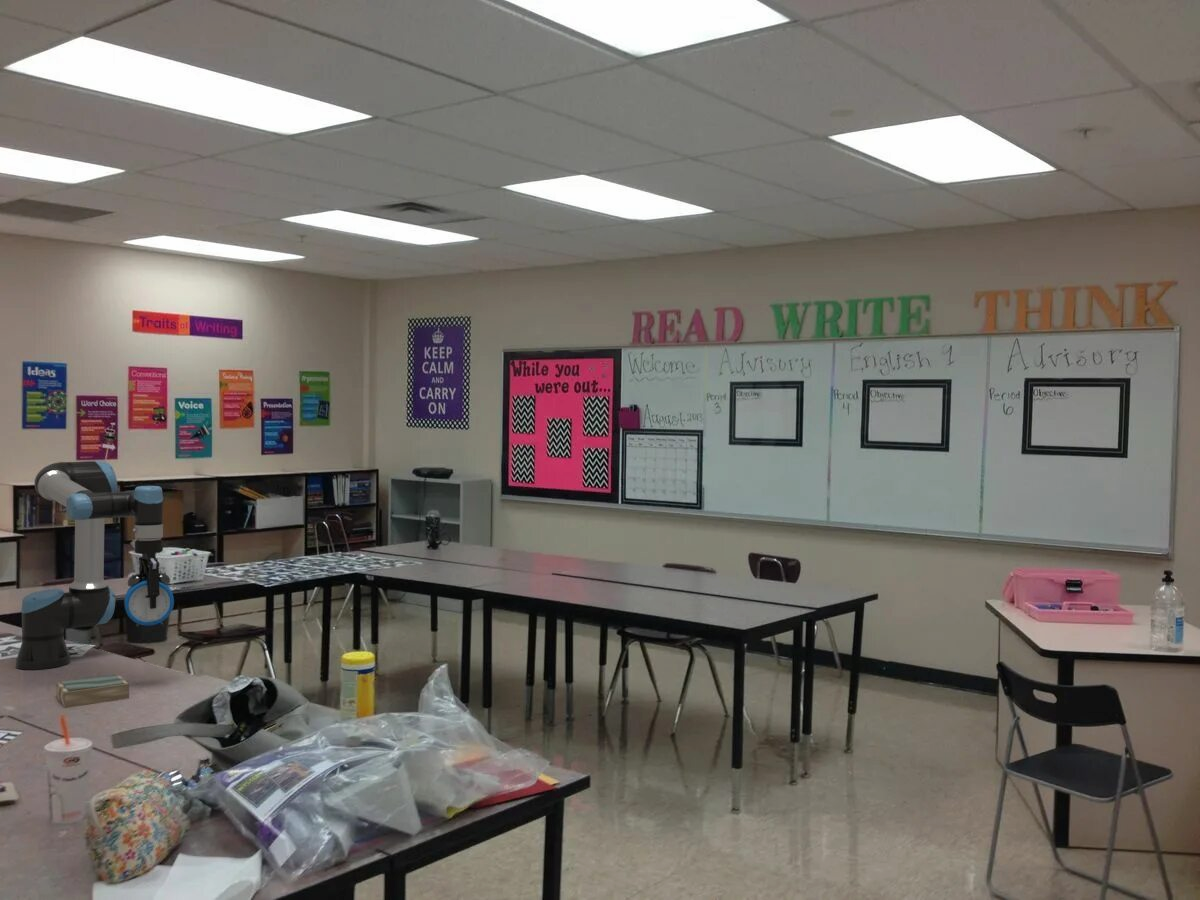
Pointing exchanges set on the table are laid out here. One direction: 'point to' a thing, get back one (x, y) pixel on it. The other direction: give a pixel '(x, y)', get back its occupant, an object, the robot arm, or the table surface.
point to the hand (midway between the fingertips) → (149, 617)
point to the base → (92, 690)
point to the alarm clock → (138, 601)
